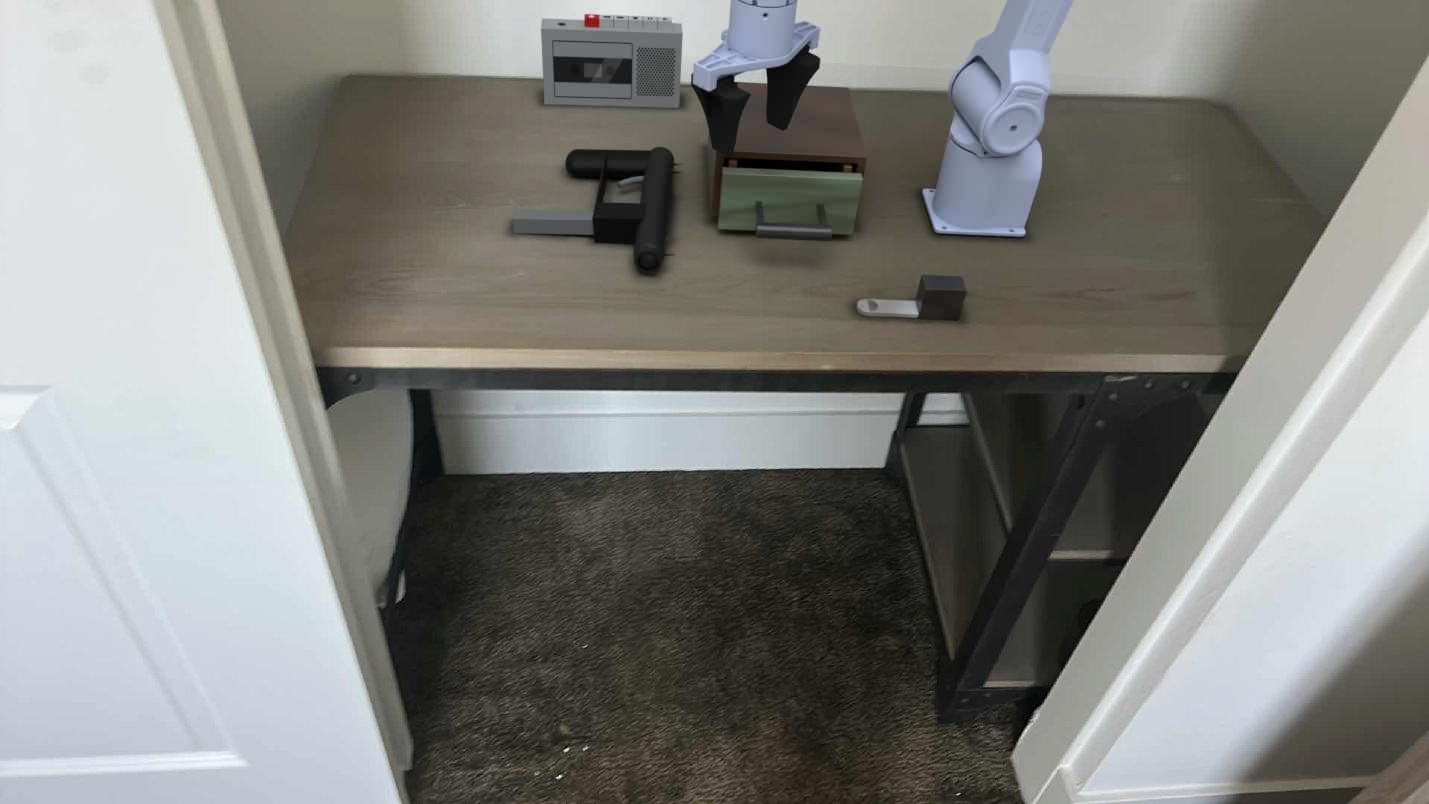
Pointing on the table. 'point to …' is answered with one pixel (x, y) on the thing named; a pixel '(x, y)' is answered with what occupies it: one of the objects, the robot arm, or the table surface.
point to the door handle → (616, 219)
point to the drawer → (789, 198)
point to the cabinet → (793, 134)
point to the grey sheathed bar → (923, 300)
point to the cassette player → (612, 61)
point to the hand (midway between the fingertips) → (750, 138)
